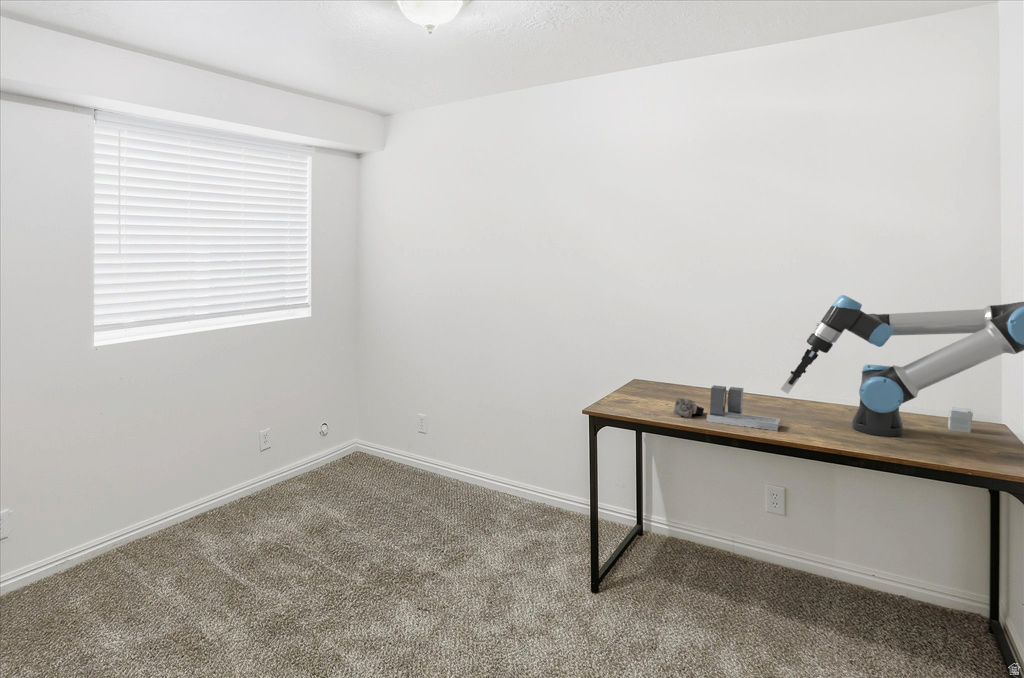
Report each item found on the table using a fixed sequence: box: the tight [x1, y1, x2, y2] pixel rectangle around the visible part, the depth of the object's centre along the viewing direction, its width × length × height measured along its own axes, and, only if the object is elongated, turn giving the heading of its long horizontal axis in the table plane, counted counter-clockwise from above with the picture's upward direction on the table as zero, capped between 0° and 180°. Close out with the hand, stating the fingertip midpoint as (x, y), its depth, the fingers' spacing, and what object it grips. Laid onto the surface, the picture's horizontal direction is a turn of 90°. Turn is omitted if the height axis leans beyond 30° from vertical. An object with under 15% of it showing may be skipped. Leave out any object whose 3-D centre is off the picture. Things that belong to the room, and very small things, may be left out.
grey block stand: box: [706, 384, 781, 432], centre depth 207 cm, size 24×8×12 cm, turn 60°
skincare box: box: [947, 406, 974, 434], centre depth 199 cm, size 6×6×7 cm
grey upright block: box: [726, 386, 744, 414], centre depth 215 cm, size 5×4×11 cm
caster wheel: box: [673, 396, 705, 419], centre depth 219 cm, size 7×11×10 cm
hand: (786, 388), depth 200 cm, fingers open, 13 cm apart
